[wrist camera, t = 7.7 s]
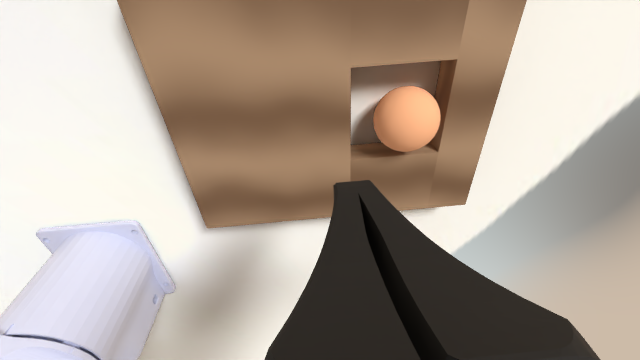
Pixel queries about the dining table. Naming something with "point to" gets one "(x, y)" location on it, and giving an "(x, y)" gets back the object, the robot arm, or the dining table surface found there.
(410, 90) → the ball
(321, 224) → the dining table surface
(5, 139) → the dining table surface
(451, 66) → the hole board
